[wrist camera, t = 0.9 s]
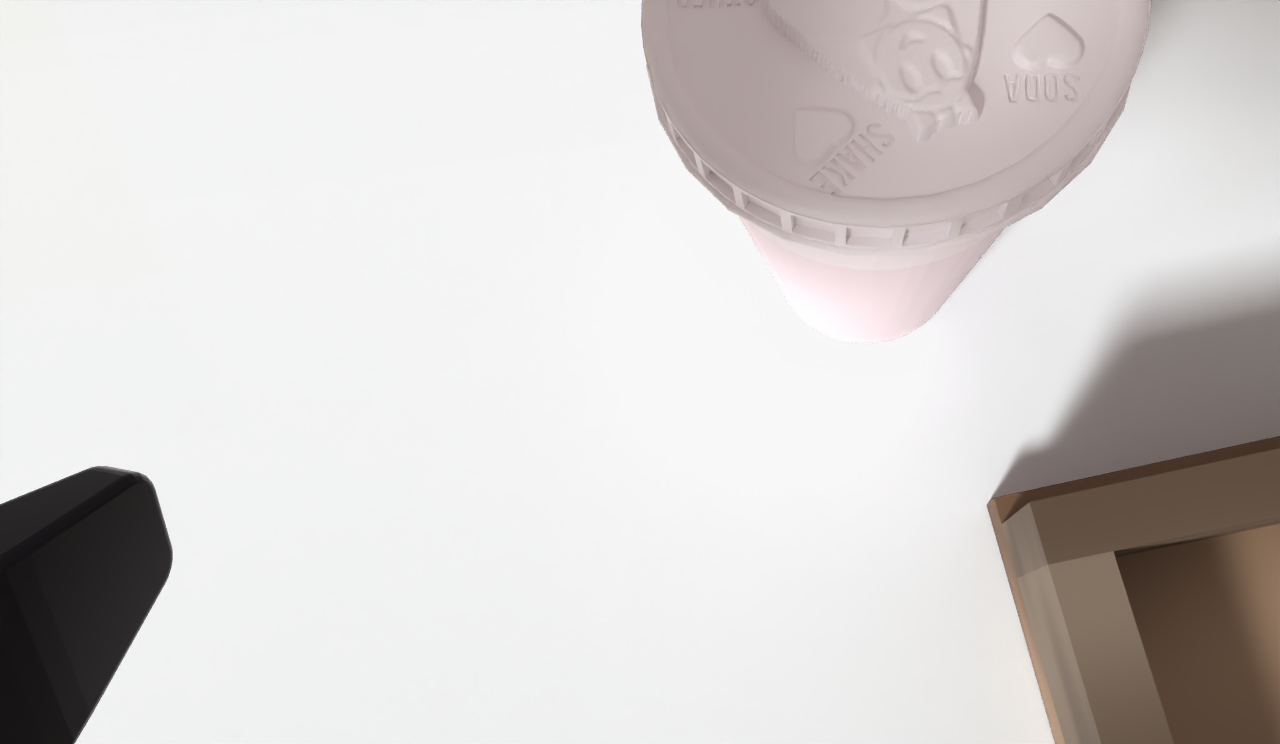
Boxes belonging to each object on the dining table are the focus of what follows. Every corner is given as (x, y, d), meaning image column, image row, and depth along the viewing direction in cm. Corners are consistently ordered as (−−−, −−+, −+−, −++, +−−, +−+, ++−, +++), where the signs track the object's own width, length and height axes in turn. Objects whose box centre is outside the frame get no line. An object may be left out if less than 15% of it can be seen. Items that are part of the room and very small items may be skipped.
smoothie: (950, 76, 24) (1101, -677, 10) (1079, 342, 22) (1467, -159, 8) (672, 184, 24) (472, -403, 11) (774, 453, 22) (687, 146, 9)
